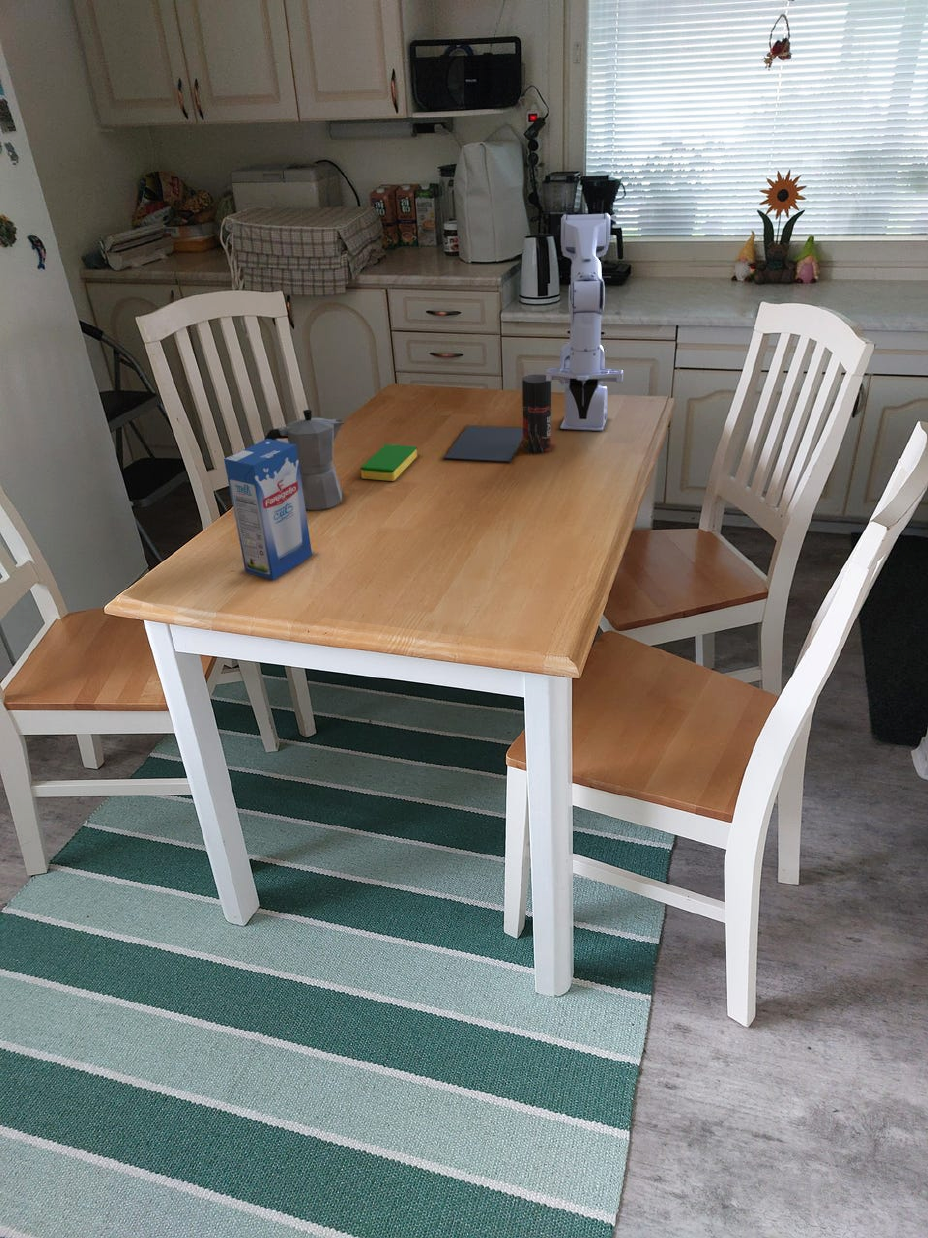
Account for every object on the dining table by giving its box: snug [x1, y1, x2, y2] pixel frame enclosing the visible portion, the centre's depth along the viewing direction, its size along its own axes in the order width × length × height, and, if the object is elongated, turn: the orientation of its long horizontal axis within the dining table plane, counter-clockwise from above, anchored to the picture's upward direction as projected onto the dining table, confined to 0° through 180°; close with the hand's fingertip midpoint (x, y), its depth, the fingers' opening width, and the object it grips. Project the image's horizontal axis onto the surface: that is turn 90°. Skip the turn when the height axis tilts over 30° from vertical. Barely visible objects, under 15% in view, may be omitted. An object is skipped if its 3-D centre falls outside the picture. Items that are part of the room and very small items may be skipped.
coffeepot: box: [263, 409, 345, 511], centre depth 172 cm, size 15×9×18 cm, turn 116°
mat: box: [443, 424, 523, 464], centre depth 199 cm, size 14×20×1 cm
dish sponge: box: [360, 443, 418, 482], centre depth 189 cm, size 7×14×2 cm, turn 162°
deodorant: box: [521, 374, 552, 454], centre depth 192 cm, size 6×6×15 cm
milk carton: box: [223, 438, 313, 581], centre depth 150 cm, size 10×6×20 cm, turn 148°
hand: (583, 417), depth 180 cm, fingers closed
